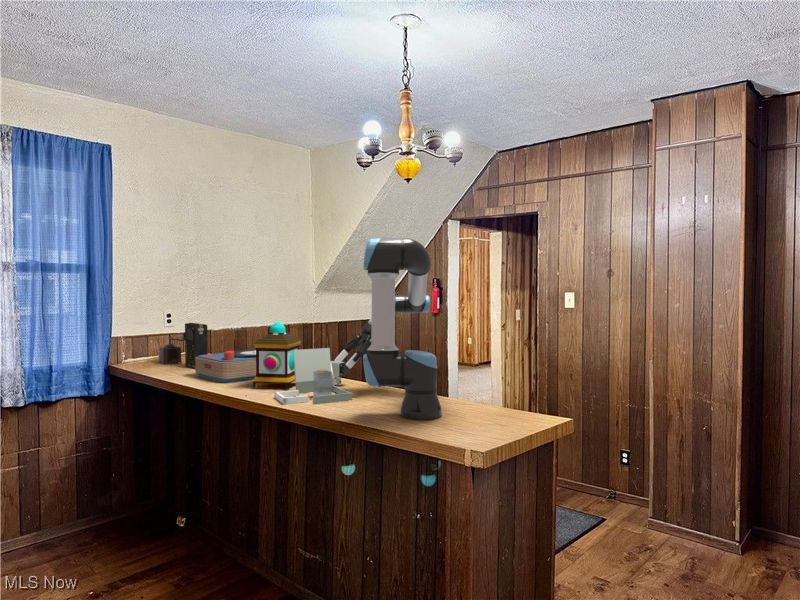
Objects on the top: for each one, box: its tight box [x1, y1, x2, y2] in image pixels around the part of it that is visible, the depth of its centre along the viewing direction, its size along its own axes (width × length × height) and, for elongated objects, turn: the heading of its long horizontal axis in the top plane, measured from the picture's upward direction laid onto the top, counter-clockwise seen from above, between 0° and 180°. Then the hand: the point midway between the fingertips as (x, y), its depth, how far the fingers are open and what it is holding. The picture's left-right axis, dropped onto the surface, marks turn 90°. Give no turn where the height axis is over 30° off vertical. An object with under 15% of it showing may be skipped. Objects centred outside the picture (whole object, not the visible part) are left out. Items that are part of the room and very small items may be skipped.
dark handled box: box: [158, 332, 185, 365], centre depth 336 cm, size 16×11×18 cm
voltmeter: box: [184, 322, 209, 370], centre depth 317 cm, size 16×9×25 cm, turn 43°
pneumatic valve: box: [330, 360, 349, 386], centre depth 263 cm, size 6×12×12 cm, turn 60°
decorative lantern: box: [252, 321, 302, 391], centre depth 260 cm, size 20×20×30 cm
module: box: [313, 369, 333, 396], centre depth 236 cm, size 6×6×11 cm
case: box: [293, 347, 353, 405], centre depth 237 cm, size 27×18×19 cm, turn 27°
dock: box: [274, 389, 309, 406], centre depth 230 cm, size 14×10×2 cm
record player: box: [195, 348, 256, 384], centre depth 293 cm, size 44×36×15 cm
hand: (342, 364), depth 240 cm, fingers open, 13 cm apart
